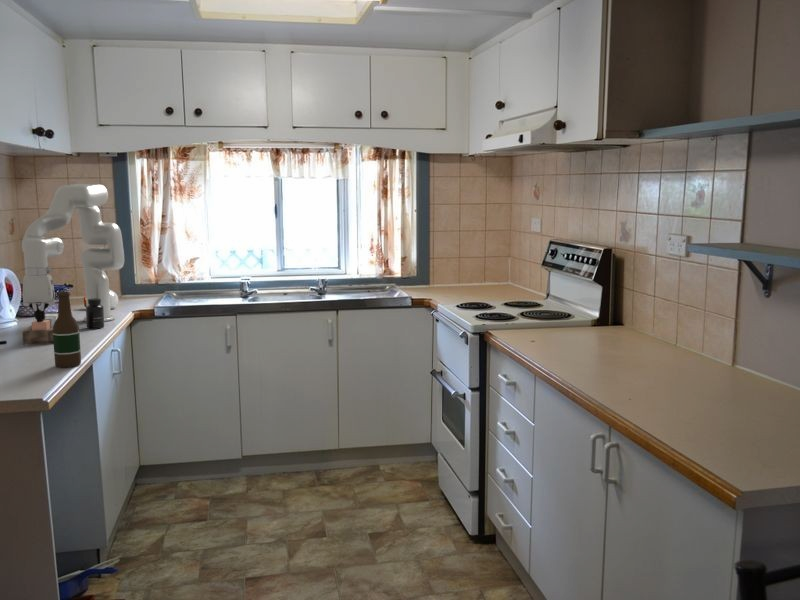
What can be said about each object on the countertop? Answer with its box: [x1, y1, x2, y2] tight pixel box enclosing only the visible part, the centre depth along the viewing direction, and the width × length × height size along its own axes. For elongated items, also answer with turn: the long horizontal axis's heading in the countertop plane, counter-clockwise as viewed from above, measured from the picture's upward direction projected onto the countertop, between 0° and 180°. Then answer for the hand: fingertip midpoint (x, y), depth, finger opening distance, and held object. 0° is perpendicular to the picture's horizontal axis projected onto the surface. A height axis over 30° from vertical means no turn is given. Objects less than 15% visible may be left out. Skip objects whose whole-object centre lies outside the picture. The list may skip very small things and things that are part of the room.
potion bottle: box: [83, 289, 119, 310], centre depth 338 cm, size 9×10×15 cm
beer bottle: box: [53, 290, 82, 369], centre depth 227 cm, size 8×8×24 cm
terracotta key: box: [30, 319, 50, 331], centre depth 263 cm, size 5×5×4 cm
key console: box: [21, 324, 54, 346], centre depth 271 cm, size 11×21×5 cm, turn 13°
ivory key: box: [45, 313, 58, 321], centre depth 277 cm, size 5×5×4 cm
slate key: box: [44, 317, 55, 327], centre depth 270 cm, size 5×5×4 cm
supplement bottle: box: [85, 298, 105, 330], centre depth 292 cm, size 7×7×12 cm
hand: (40, 321), depth 263 cm, fingers closed
